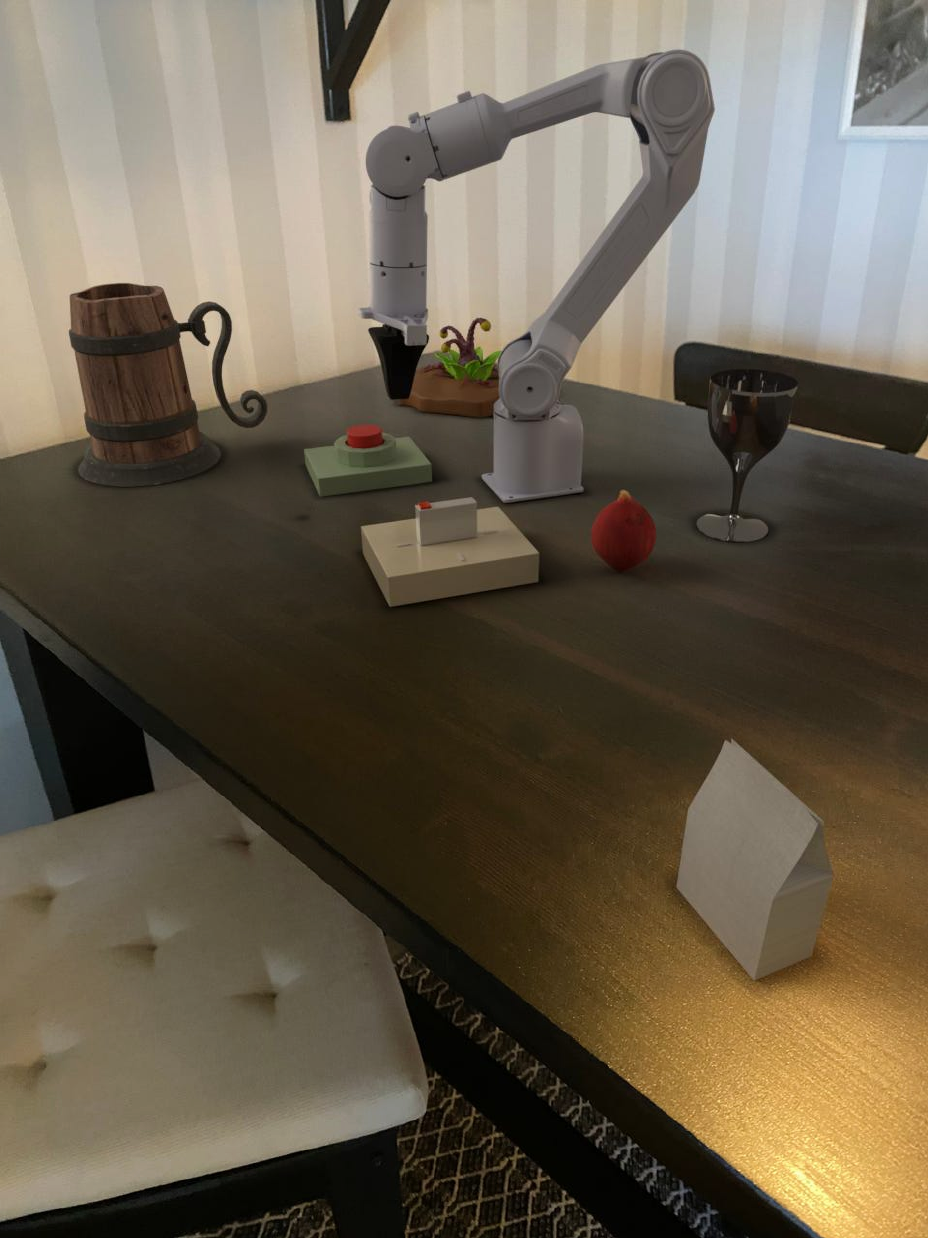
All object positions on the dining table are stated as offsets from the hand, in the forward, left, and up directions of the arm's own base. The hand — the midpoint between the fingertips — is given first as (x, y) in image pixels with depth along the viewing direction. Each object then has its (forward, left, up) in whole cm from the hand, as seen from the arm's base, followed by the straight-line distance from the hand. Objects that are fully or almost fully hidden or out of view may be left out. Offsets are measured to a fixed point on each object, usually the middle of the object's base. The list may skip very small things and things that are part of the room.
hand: (398, 397), depth 97 cm
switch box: (+1, +20, -7) cm, 22 cm away
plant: (-18, -31, -11) cm, 37 cm away
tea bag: (-2, +65, -11) cm, 66 cm away
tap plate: (+1, +20, -10) cm, 23 cm away
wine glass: (-29, +21, -11) cm, 38 cm away
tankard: (+24, -20, -11) cm, 33 cm away
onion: (-14, +26, -11) cm, 32 cm away
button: (+3, -6, -7) cm, 9 cm away
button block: (+3, -6, -10) cm, 12 cm away
